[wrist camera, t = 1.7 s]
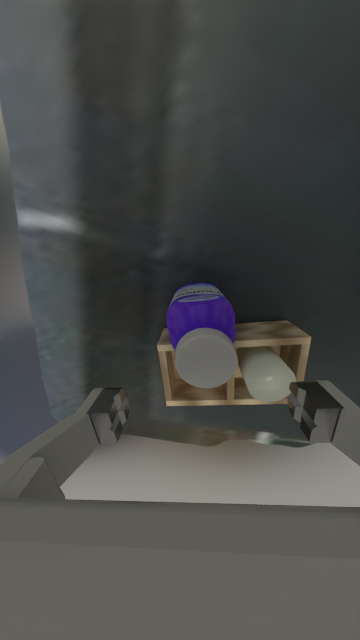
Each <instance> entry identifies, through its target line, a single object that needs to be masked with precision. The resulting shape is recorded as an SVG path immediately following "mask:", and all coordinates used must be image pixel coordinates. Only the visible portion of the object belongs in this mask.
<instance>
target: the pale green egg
mask: <svg viewBox="0 0 360 640" xmlns="http://www.w3.org/2000/svg"><path fill="white" fill-rule="evenodd" d="M236 353H237V358H238V367H239V369H240V371H241V374H242V376H243V379H244V381H245V383H246V386H247V388H248V391H249V393H250V394H251V395H252V396H253V397H254V398H255V399H257V400H260V401H264V402H274V401H279V400H281V399H283V398H285V397H287V396H288V395H289V394H290V393H291V391H290V389H289V385H290V383H291V382H296V377H295V375H294V373H293V372H292V371H291V369H290V368H289V367H288V366H287V365H286V364H285V363H284V361H283V360H282V359H281V358H280V357H279V356H278V354H277V353H276V352H275V351H274V350H273V349H272V348H271V346H258V347H238V348H237V350H236Z"/></svg>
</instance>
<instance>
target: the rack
mask: <svg viewBox="0 0 360 640" xmlns="http://www.w3.org/2000/svg"><path fill="white" fill-rule="evenodd" d="M235 328H236V337H235V341H234V344H233V345H234V348H235V351H236V350H237V348H238V347H258V346H271V348H272V349H273V350H274V351H275V352H276V353H277V354H278V356H279V357H280V358H281V359H282V360H283V361H284V363H285V364H286V365H287V366H288V367H289V368H290V369H291V371H292V372H293V373H294V375H295V377H296V382H300V381H304V375H305V370H306V364H307V359H308V353H309V348H310V342H311V336H309V335H308V334H306V333H305V332H303V331H302V330H301V329H299V328H298V327H296V326H295V325H293V324H292V323H290V322H289V321H287V320H285V321H269V322H254V323H238V324H235ZM157 348H158V354H159V360H160V366H161V373H162V379H163V385H164V391H165V397H166V403H167V406H193V405H248V404H288V403H287V400H288V396H289V395H290V394H291V393H292V392H291V393H290V394H289V395H288V396H287V397H285V398H283V399H281V400H279V401H274V402H264V401H260V400H257V399H255V398H254V397H253V396H252V395H251V394H250V393H249V391H248V388H247V386H246V383H245V381H244V379H243V376H242V374H241V371H240V369H239V367H238V365H237V369H236V371H235V373H234V375H233V376H232V377H231V379H229V380H228V381H227V382H226V383H224V384H222V385H220V386H217V387H213V388H199V387H195V386H193V385H190V384H188V383H187V382H185V381H184V380H183V379H182V378H181V377H180V375H179V374H178V372H177V369H176V365H175V357H176V355H175V352H176V351H175V350H174V348H173V346H172V345H171V343H170V338H169V331H168V329H167V328H164V329H163V332H162V334H161V337H160V339H159V342H158V344H157Z"/></svg>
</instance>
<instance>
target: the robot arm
mask: <svg viewBox="0 0 360 640" xmlns="http://www.w3.org/2000/svg"><path fill="white" fill-rule="evenodd" d="M289 389H290V391H291V392H292V393H291V394H290V395H289V396H288V400H287V403H288V408H289V410H290V413H291V415H292V416H293V418H294V419H296V420H297V421H299V422H300V429H301V430H302V432H303V433H304V435H305V436H306V438H307V439H308V441H309V442H323V443H324V442H325V443H332V444H333V445H334V446H335V447H336V448H338V449H339V450H340V451H341V452H343V453H344V454H345V455H347V456H348V457H349V458H350V459H352V460H353V461H354V462H355V463H357V464H358V465H359V466H360V408H359V407H358V406H357V405H356V404H355V403H353V402H352V401H351V400H350V399H349V398H348V397H347V396H345V395H344V394H343V393H342V392H341V391H340V390H339V389H338V388H336V387H335V386H334V385H333V384H332V383H331V382H329V381H327V380H318V381H300V382H291V383H290V385H289ZM125 396H126V391H125V388H95V389H94V390H92V392H91V393H90V395H89V396H88V397H87V399H86V400H85V401H84V403H83V404H82V405H81V407H80V408H79V409H78V411H77V412H76V413H75V414H74V415H70V416H69V417H67V418H65V419H64V420H62V421H61V422H59V423H58V424H56V425H55V426H53V427H52V428H50V429H49V430H47V431H46V432H44V433H43V434H41V435H40V436H38V437H37V438H35V439H34V440H32V441H31V442H29V443H27V444H26V445H25V446H23V447H22V448H20V449H18V450H17V451H16V452H14V453H13V454H11V455H9V456H8V457H7V458H6V460H4V462H3V463H2V464H1V465H0V640H360V507H327V506H291V505H256V504H255V505H254V504H219V503H180V502H179V503H178V502H177V503H176V502H142V501H105V500H68V499H65V496H64V494H63V492H62V490H61V489H60V486H61V485H62V484H63V483H64V482H65V481H66V479H68V477H69V476H71V474H72V473H73V472H74V471H75V470H76V469H77V468H78V467H79V466H80V465H81V464H82V463H83V462H84V461H85V460H86V459H87V457H88V456H90V454H91V453H92V452H93V451H94V450H95V449H96V448H97V447H98V446H99V445H100V444H103V443H104V444H105V443H118V440H119V438H120V435H121V433H122V430H123V428H122V424H123V423H124V422H126V420H127V418H128V414H129V402H128V400H127V399H126V398H125Z"/></svg>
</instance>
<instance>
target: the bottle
mask: <svg viewBox="0 0 360 640" xmlns="http://www.w3.org/2000/svg"><path fill="white" fill-rule="evenodd" d="M166 323H167V329H168V331H169V338H170V343H171V345H172V346H173V348H174V350H175V351H176V352H175V355H176V357H175V365H176V369H177V372H178V374H179V375H180V377H181V378H182V379H183V380H184V381H185V382H187V383H188V384H190V385H193V386H195V387H199V388H213V387H217V386H220V385H222V384H224V383H226V382H227V381H228V380H229V379H231V377H232V376H233V375H234V373H235V371H236V369H237V365H238V358H237V353H236V351H235V348H234V345H233V344H234V341H235V337H236V328H235V313H234V311H233V308H232V305H231V303H230V302H229V301H228V300H227V299H226V297H225V296H224V295H223V294H222V293H221V292H220V290H219V289H218V288H217V287H216V286H214V285H212V284H208V283H194V284H189V285H185V286H183V287H181V288H179V289H178V290H177V291H176V292H175V294H174V297H173V299H172V301H171V304H170V306H169V308H168V311H167V319H166Z"/></svg>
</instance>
